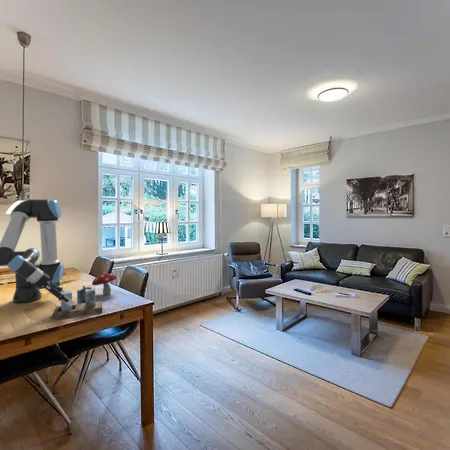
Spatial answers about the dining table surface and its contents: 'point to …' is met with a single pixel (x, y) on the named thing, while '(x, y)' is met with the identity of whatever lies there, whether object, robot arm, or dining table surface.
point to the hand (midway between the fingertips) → (71, 301)
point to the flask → (81, 295)
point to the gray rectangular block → (63, 305)
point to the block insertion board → (81, 307)
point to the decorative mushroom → (104, 281)
